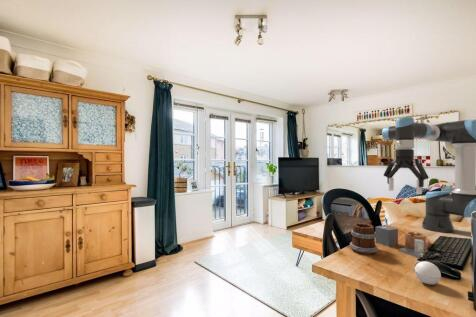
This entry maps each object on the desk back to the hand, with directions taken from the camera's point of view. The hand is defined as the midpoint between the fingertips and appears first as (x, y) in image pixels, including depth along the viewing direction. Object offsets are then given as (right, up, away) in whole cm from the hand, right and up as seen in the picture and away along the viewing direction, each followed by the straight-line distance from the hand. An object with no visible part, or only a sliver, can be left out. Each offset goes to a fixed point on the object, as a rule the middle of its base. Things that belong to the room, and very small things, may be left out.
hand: (404, 192), depth 122 cm
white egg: (-17, -27, -37) cm, 49 cm away
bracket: (+8, -27, +2) cm, 29 cm away
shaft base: (0, -27, -9) cm, 28 cm away
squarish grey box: (-6, -27, +4) cm, 28 cm away
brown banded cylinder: (-22, -27, -4) cm, 35 cm away
